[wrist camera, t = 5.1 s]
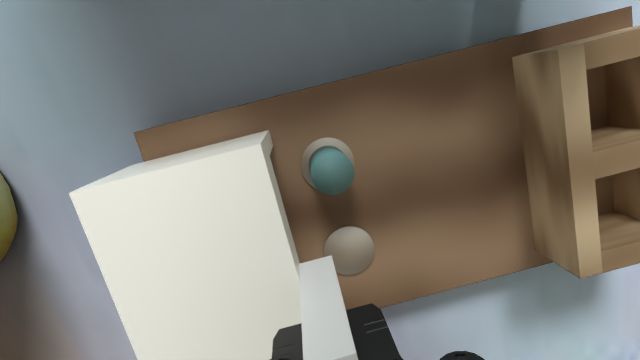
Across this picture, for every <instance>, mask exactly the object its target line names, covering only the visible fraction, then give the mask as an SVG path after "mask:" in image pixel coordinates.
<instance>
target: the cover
mask: <svg viewBox="0 0 640 360" xmlns="http://www.w3.org/2000/svg"><path fill="white" fill-rule="evenodd" d="M272 147H273V143H272V140H271V136H270V132H269V130H267V131H263V132H259V133H255V134H251V135H247V136H243V137H239V138H235V139H232V140H228V141H224V142H220V143H216V144H212V145H208V146H204V147H200V148H196V149H192V150H188V151H185V152H181V153H177V154H173V155H169V156H165V157H161V158H157V159H153V160H149V161H145V162H141V163H138V164H134V165H131V166H128V167H126V168H124V169H122V170H119V171H117V172H115V173H113V174H110V175H108V176H106V177H104V178H101V179H99V180H97V181H95V182H92V183H90V184H88V185H86V186H83V187H81V188H79V189H77V190H74V191H72V192H70V193H69V195H70V197H71V200H72V202H73V204H74V207H75V209H76V212H77V214H78V217H79V219H80V221H81V224H82V226H83V229H84V231H85V233H86V236H87V238H88V241H89V243H90V246H91V248H92V250H93V253H94V255H95V258H96V260H97V262H98V265H99V267H100V270H101V272H102V274H103V277H104V279H105V282H106V284H107V287H108V289H109V291H110V294H111V296H112V299H113V301H114V303H115V306H116V308H117V311H118V313H119V316H120V318H121V320H122V323H123V325H124V328H125V330H126V332H127V335H128V337H129V340H130V342H131V345H132V347H133V349H134V352H135V354H136V357H137V359H138V360H270V359H272V346H273V339H274V337H275V335H276V334H277V332H278V330H279V329H282V328H285V327H289V326H293V325H296V324H300V323H301V302H300V279H299V264H300V262H299V259H298V255H297V252H296V248H295V244H294V241H293V237H292V234H291V230H290V227H289V223H288V220H287V216H286V212H285V209H284V205H283V202H282V198H281V195H280V191H279V188H278V184H277V180H276V177H275V173H274V170H273V166H272V163H271V159H270V153H271V150H272Z"/></svg>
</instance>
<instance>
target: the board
mask: <svg viewBox="0 0 640 360" xmlns="http://www.w3.org/2000/svg"><path fill="white" fill-rule="evenodd" d="M267 130H269V132H270V136H271V140H272V143H273V147H272V150H271V153H270V159H271V163H272V166H273V170H274V173H275V177H276V180H277V184H278V188H279V191H280V195H281V198H282V202H283V205H284V209H285V212H286V216H287V220H288V223H289V227H290V230H291V234H292V237H293V241H294V244H295V248H296V252H297V255H298V259H299V262H300V263H304V262H308V261H312V260H315V259H319V258H323V257H327V256H330V255H332V259H333V262H334V266H335V270H336V274H337V278H338V281H339V285H340V289H341V293H342V297H343V300H344V304H345V308H346V310H348V309H352V308H356V307H359V306H363V305H367V304H371V303H372V304H374V305H375V306H377V307H378V308H382V307H386V306H390V305H394V304H397V303H401V302H405V301H409V300H412V299H416V298H420V297H424V296H427V295H431V294H435V293H439V292H442V291H446V290H450V289H454V288H458V287H461V286H465V285H469V284H473V283H476V282H480V281H484V280H488V279H491V278H495V277H499V276H503V275H506V274H510V273H514V272H518V271H521V270H525V269H529V268H533V267H537V266H540V265H544V264H548V263H552V262H555V263H556V264H558V265H559V266H561V267H562V268H564V269H566V270H567V271H569V272H570V273H572V274H573V275H575V276H577V277H578V278H580V279H582V278H585V277H589V276H593V275H597V274H600V273H604V272H608V271H611V270H615V269H619V268H623V267H626V266H630V265H634V264H638V263H640V26H635V27H633V24H632V6H630V7H626V8H622V9H618V10H614V11H610V12H606V13H602V14H598V15H594V16H591V17H587V18H583V19H579V20H575V21H571V22H567V23H563V24H559V25H555V26H551V27H547V28H543V29H539V30H535V31H531V32H527V33H524V34H520V35H516V36H512V37H508V38H504V39H500V40H496V41H492V42H488V43H484V44H480V45H476V46H472V47H468V48H464V49H461V50H457V51H453V52H449V53H445V54H441V55H437V56H433V57H429V58H425V59H421V60H417V61H413V62H409V63H405V64H401V65H397V66H394V67H390V68H386V69H382V70H378V71H374V72H370V73H366V74H362V75H358V76H354V77H350V78H346V79H342V80H338V81H334V82H331V83H327V84H323V85H319V86H315V87H311V88H307V89H303V90H299V91H295V92H291V93H287V94H283V95H279V96H275V97H271V98H267V99H264V100H260V101H256V102H252V103H248V104H244V105H240V106H236V107H232V108H228V109H224V110H220V111H216V112H212V113H208V114H204V115H200V116H197V117H193V118H189V119H185V120H181V121H177V122H173V123H169V124H165V125H161V126H157V127H153V128H149V129H145V130H141V131H137V132H134V135H135V138H136V141H137V143H138V146H139V149H140V152H141V155H142V157H143V160H144V162H145V161H149V160H153V159H157V158H161V157H165V156H169V155H173V154H177V153H181V152H185V151H188V150H192V149H196V148H200V147H204V146H208V145H212V144H216V143H220V142H224V141H228V140H232V139H235V138H239V137H243V136H247V135H251V134H255V133H259V132H263V131H267Z"/></svg>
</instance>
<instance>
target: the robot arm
mask: <svg viewBox="0 0 640 360" xmlns="http://www.w3.org/2000/svg"><path fill="white" fill-rule="evenodd" d="M299 279H300V302H301V323H300V324H296V325H293V326H289V327H285V328H282V329H279V330H278V332H277V334H276V335H275V337H274V339H273V346H272V359H270V360H403V359H402V358H401V356H400V355H399V352H398V350H397V348H396V345H395V343H394V340H393V338H392V336H391V333H390V331H389V328H388V326H387V324H386V321H385V319H384V316H383V314H382V312H381V309H379V308H378V307H377V306H375V305H374V304H372V303H371V304H367V305H363V306H359V307H356V308H352V309H348V310H346V308H345V304H344V300H343V297H342V293H341V289H340V285H339V281H338V278H337V274H336V270H335V266H334V262H333V259H332V255H330V256H327V257H323V258H319V259H315V260H312V261H308V262H304V263H300V264H299ZM440 360H484V359H483V358H482V357H480V356H478V355H477V354H475V353H471V352H467V351H455V352H452V353H448V354H446V355H445V356H443V357H442V358H441V359H440Z"/></svg>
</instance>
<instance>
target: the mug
mask: <svg viewBox="0 0 640 360" xmlns="http://www.w3.org/2000/svg"><path fill="white" fill-rule="evenodd" d="M17 223H18V215H17V212H16V208H15V204H14V200H13V198H12V195H11V192H10V189H9V186H8V184H7V183H6V181H5V180H4V178H3V176H2V175H1V173H0V262H1V261H2V259H3V258H4V256H5V255H6V253H7V252H8V250H9V248H10V246H11V244H12V242H13V238H14V236H15V234H16V230H17Z"/></svg>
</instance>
